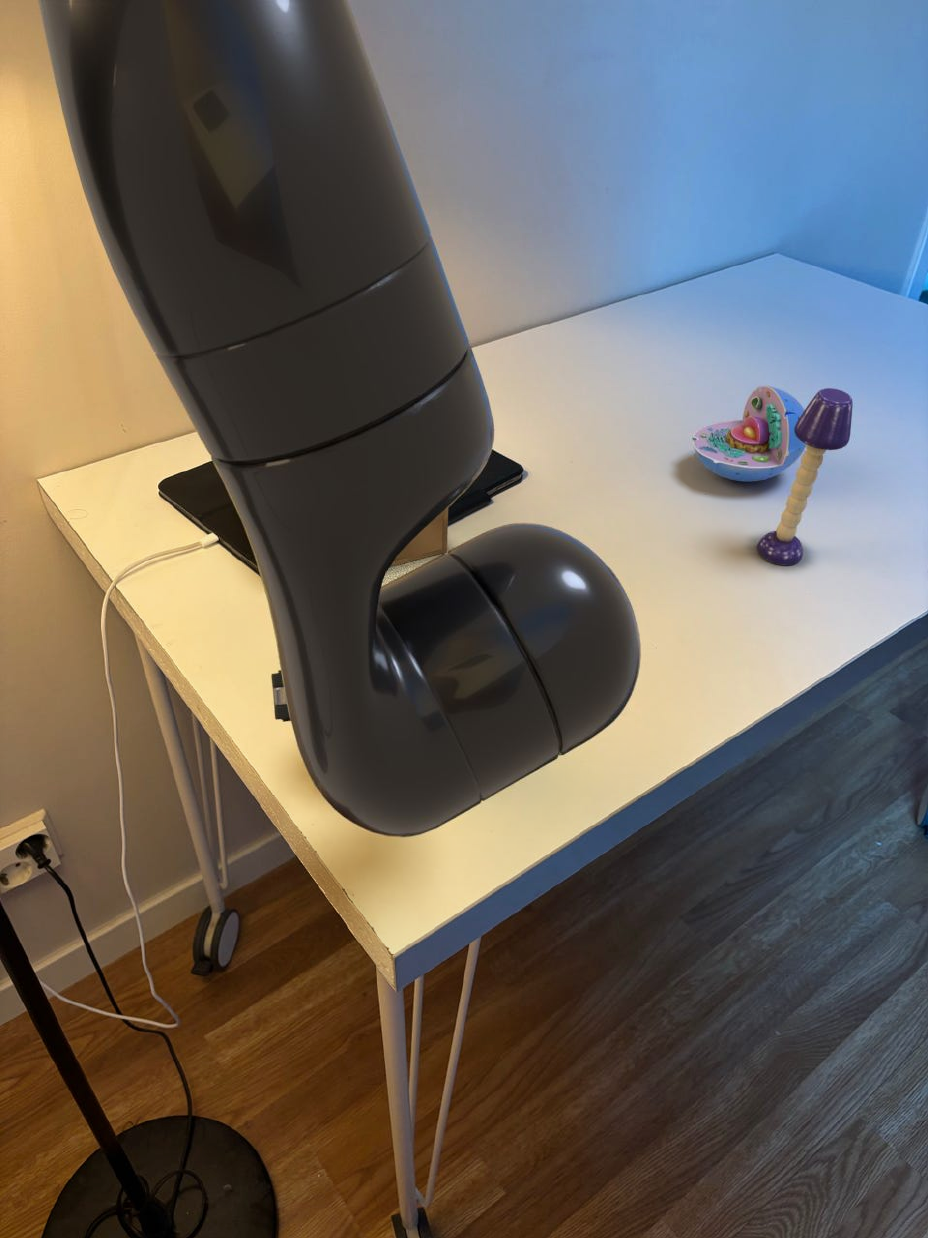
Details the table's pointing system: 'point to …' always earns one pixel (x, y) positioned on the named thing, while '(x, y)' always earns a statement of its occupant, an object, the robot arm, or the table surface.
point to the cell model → (753, 438)
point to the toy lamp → (809, 468)
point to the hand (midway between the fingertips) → (390, 685)
